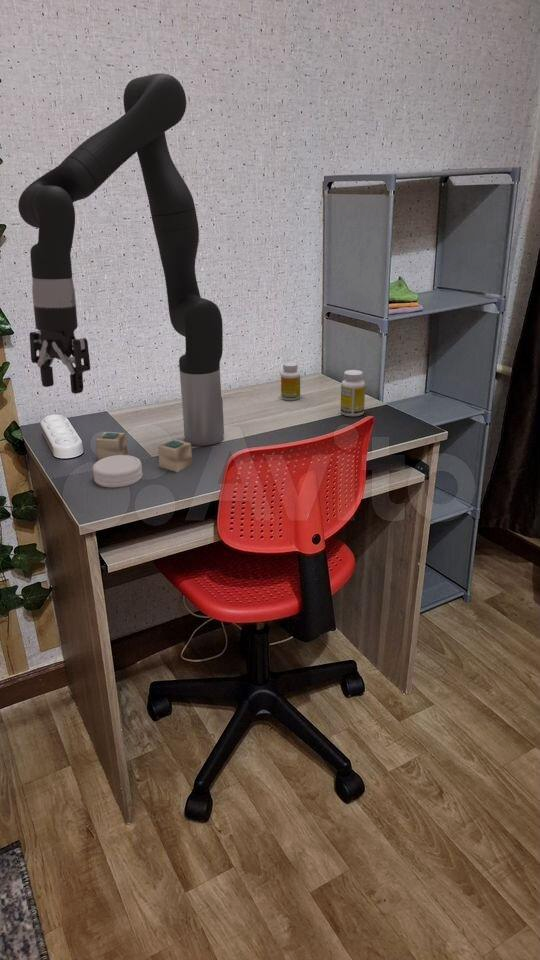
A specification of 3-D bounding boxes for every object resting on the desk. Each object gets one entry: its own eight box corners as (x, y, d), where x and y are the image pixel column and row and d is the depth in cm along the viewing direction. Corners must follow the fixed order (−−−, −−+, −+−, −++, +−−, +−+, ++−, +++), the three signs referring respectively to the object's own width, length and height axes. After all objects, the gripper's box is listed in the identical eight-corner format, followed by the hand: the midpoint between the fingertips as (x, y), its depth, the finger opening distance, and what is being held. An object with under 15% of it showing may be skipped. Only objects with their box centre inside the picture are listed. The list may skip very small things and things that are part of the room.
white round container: (124, 465, 148) (123, 450, 147) (152, 477, 142) (150, 462, 140) (85, 479, 142) (83, 464, 140) (112, 493, 135) (110, 477, 134)
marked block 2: (175, 459, 150) (173, 437, 148) (192, 464, 148) (190, 442, 145) (159, 467, 146) (157, 444, 144) (177, 472, 144) (175, 449, 142)
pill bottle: (363, 409, 179) (365, 369, 174) (364, 417, 173) (366, 375, 168) (340, 409, 179) (341, 368, 175) (340, 416, 174) (341, 375, 169)
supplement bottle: (300, 400, 186) (300, 366, 182) (281, 401, 186) (280, 366, 182) (299, 394, 191) (300, 361, 187) (281, 395, 191) (280, 361, 187)
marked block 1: (107, 452, 155) (104, 430, 153) (127, 453, 154) (125, 431, 152) (98, 460, 150) (95, 438, 148) (119, 461, 150) (117, 439, 147)
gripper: (96, 305, 123) (102, 391, 129) (46, 298, 131) (54, 380, 137) (63, 308, 117) (71, 399, 123) (13, 301, 125) (22, 387, 131)
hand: (62, 389), depth 130 cm, fingers open, 8 cm apart
